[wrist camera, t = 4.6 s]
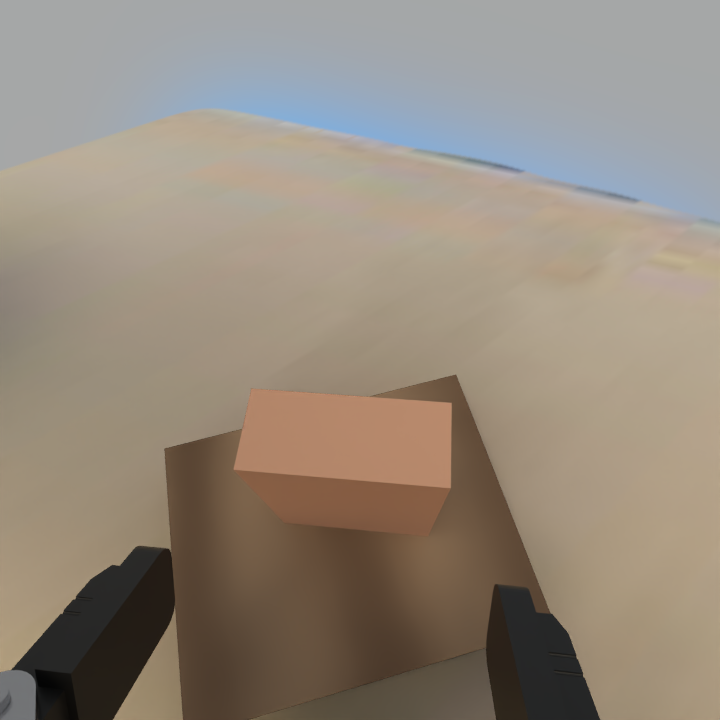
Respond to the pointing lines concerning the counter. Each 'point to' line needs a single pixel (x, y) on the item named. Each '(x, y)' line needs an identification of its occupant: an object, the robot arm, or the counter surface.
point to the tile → (347, 459)
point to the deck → (329, 580)
